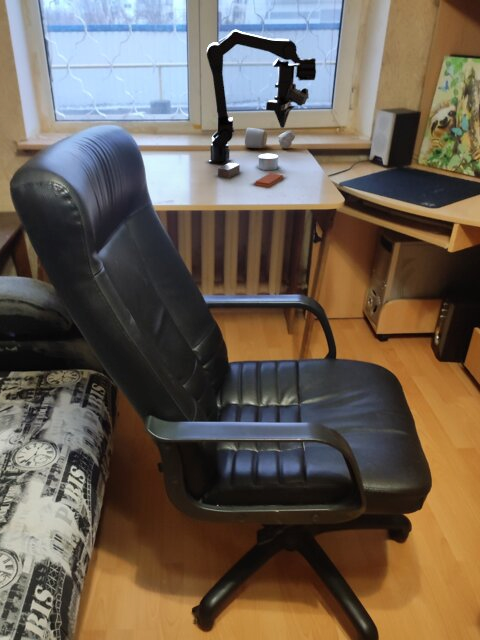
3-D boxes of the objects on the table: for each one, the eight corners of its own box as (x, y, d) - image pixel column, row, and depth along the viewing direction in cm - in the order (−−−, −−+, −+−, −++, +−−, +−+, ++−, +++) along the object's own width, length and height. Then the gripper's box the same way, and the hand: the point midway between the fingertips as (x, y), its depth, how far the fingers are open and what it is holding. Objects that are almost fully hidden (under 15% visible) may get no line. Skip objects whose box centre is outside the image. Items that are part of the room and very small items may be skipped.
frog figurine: (292, 150, 224) (294, 132, 220) (275, 149, 226) (277, 131, 222) (295, 147, 229) (297, 129, 225) (279, 146, 230) (280, 128, 226)
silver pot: (254, 168, 205) (255, 157, 203) (263, 163, 210) (264, 152, 207) (272, 171, 202) (272, 159, 199) (280, 166, 207) (281, 155, 204)
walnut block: (217, 176, 198) (217, 168, 196) (228, 171, 203) (229, 162, 201) (228, 178, 196) (228, 169, 194) (239, 172, 201) (239, 164, 199)
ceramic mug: (263, 150, 225) (264, 130, 220) (244, 149, 227) (244, 129, 222) (268, 144, 233) (269, 125, 229) (249, 143, 235) (250, 124, 231)
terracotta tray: (253, 184, 189) (253, 181, 189) (269, 175, 197) (269, 172, 197) (267, 187, 187) (268, 184, 186) (283, 178, 195) (283, 174, 194)
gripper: (295, 86, 187) (291, 135, 196) (316, 78, 199) (312, 124, 208) (265, 84, 192) (263, 131, 201) (288, 76, 204) (285, 121, 213)
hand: (282, 127), depth 206 cm, fingers closed
